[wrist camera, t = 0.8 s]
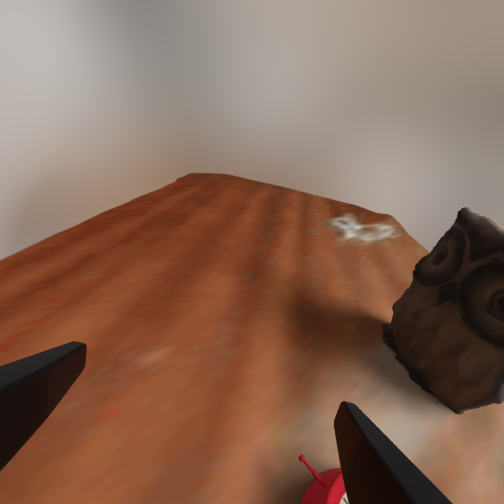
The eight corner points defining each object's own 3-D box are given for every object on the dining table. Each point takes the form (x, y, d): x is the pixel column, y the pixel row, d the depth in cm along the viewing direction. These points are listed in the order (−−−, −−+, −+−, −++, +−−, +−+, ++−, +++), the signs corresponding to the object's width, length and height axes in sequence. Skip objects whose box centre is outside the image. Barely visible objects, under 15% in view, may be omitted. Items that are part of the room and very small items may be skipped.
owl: (470, 432, 25) (684, 293, 15) (358, 350, 31) (455, 214, 21) (470, 362, 34) (604, 245, 24) (383, 309, 40) (460, 199, 30)
